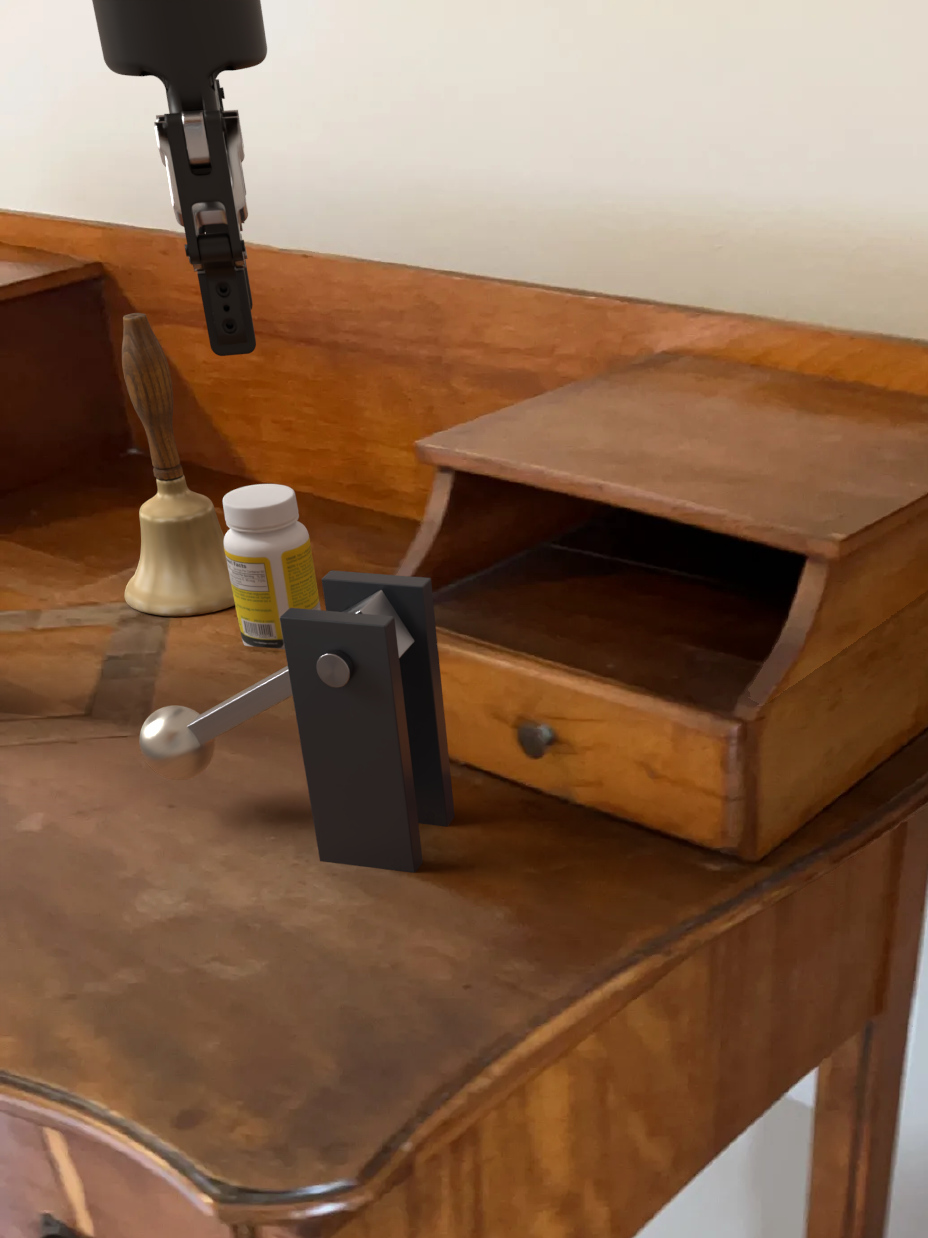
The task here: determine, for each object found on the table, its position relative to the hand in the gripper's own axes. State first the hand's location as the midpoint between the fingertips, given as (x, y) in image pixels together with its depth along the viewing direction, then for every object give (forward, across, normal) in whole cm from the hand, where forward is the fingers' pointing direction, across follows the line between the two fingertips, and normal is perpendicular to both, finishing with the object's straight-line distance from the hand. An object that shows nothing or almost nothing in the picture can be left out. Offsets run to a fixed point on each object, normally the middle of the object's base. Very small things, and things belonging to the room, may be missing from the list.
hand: (234, 332), depth 79 cm
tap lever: (+10, +26, 0) cm, 28 cm away
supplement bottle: (+17, 0, 0) cm, 17 cm away
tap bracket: (+17, +28, +4) cm, 32 cm away
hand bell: (+17, -10, -6) cm, 20 cm away
